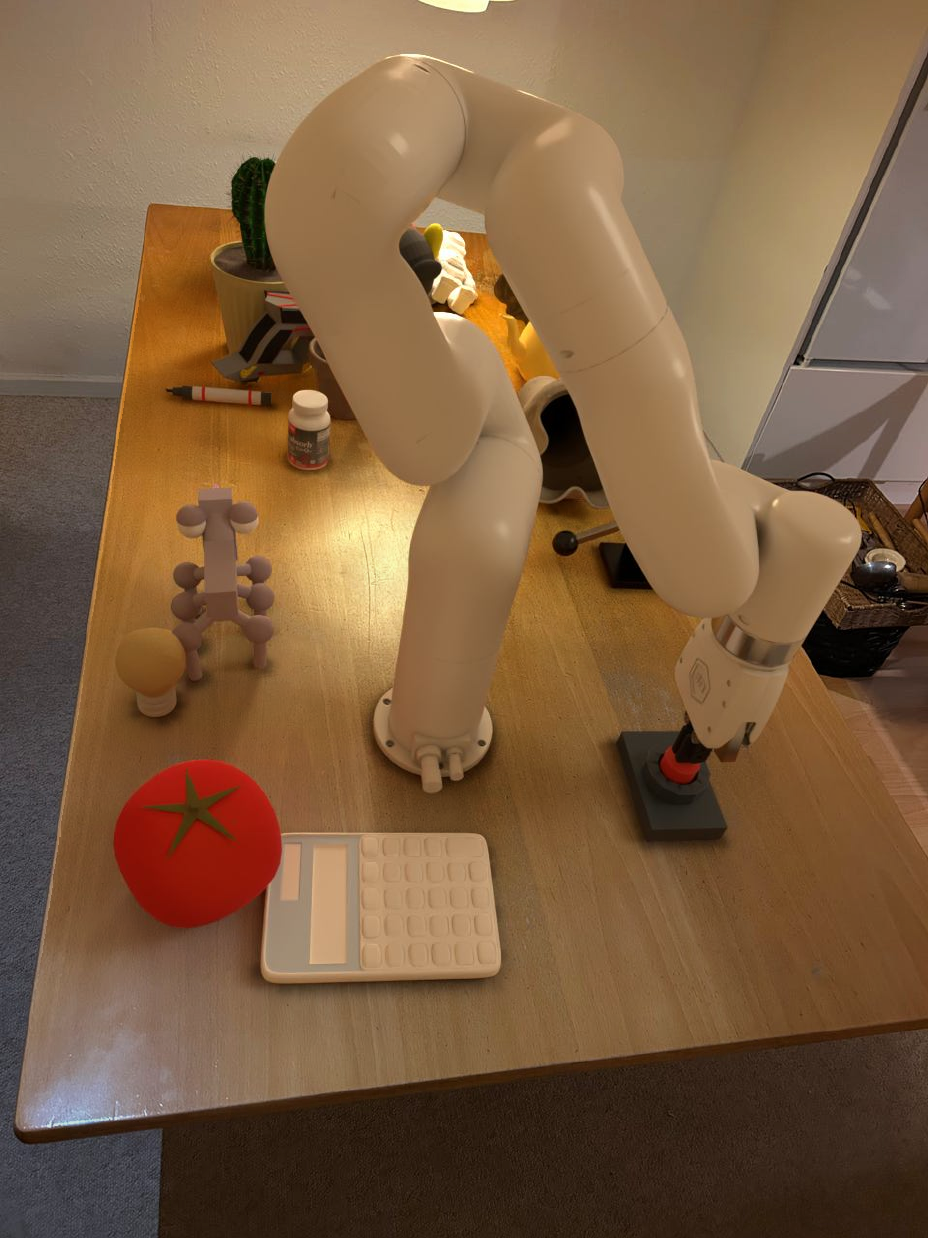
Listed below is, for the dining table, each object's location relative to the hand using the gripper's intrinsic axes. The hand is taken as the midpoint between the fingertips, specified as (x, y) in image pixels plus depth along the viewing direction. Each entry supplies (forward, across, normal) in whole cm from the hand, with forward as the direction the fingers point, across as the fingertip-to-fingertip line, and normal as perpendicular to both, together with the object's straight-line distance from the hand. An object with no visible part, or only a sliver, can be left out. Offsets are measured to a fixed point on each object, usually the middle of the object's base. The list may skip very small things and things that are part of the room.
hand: (688, 755), depth 85 cm
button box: (+6, 0, 0) cm, 6 cm away
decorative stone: (+5, -116, -16) cm, 117 cm away
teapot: (+6, -83, +2) cm, 83 cm away
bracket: (+6, -35, +7) cm, 36 cm away
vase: (+6, -58, 0) cm, 58 cm away
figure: (+3, -105, -12) cm, 105 cm away
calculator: (+6, +12, -31) cm, 33 cm away
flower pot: (+5, -70, -32) cm, 77 cm away
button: (+2, 0, 0) cm, 2 cm away
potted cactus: (+5, -86, -45) cm, 97 cm away
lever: (+1, -35, +2) cm, 35 cm away
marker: (+5, -70, -51) cm, 86 cm away
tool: (+7, -79, -42) cm, 90 cm away
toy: (-3, -112, -17) cm, 113 cm away
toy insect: (+6, -24, -47) cm, 53 cm away
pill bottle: (+6, -56, -38) cm, 68 cm away
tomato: (+6, +8, -46) cm, 47 cm away
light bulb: (+6, -11, -52) cm, 54 cm away
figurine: (-1, -96, +6) cm, 97 cm away
